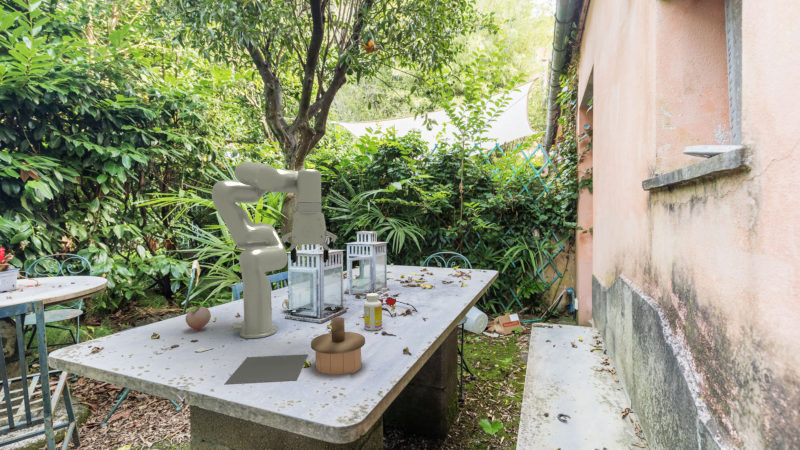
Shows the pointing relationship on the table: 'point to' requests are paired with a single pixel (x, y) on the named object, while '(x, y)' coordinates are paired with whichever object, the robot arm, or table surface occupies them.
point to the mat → (268, 369)
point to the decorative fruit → (198, 317)
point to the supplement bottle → (372, 312)
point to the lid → (337, 339)
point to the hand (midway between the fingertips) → (309, 262)
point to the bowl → (338, 362)
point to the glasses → (392, 303)
